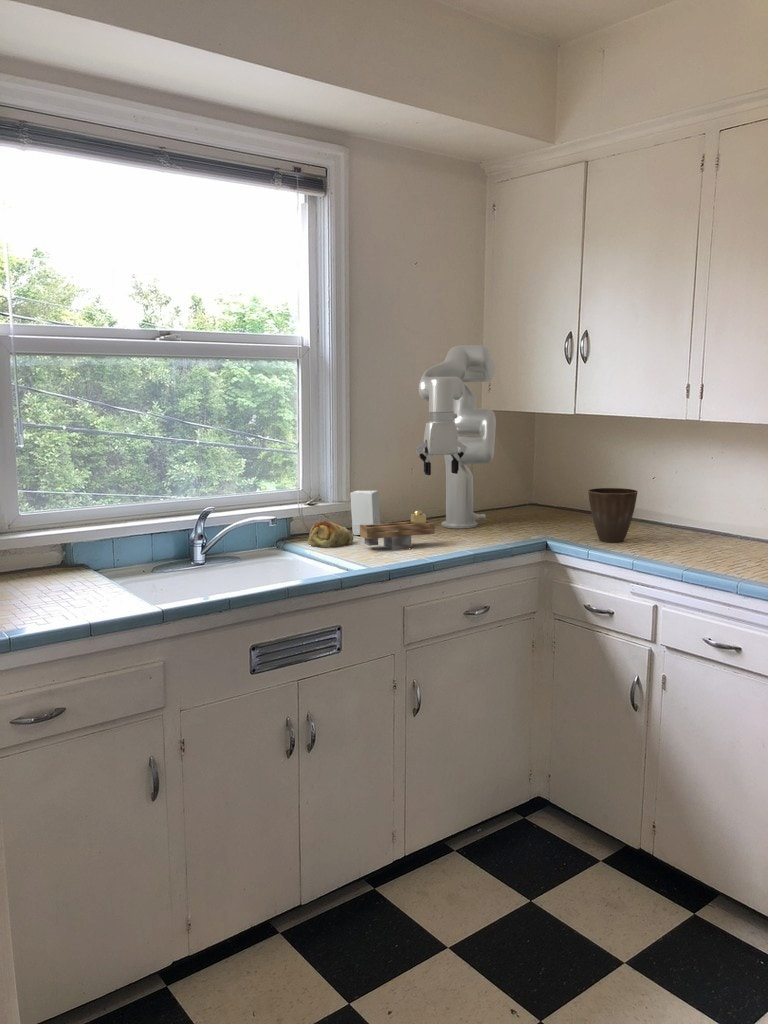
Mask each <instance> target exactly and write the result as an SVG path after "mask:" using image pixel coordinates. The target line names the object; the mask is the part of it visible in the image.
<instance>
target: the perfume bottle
mask: <svg viewBox="0 0 768 1024" xmlns="http://www.w3.org/2000/svg"><path fill="white" fill-rule="evenodd" d="M426 520H427V514H426V513H423V510H414V513H410V522H411V524H420V523H426Z"/></svg>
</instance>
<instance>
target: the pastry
mask: <svg viewBox="0 0 768 1024" xmlns="http://www.w3.org/2000/svg"><path fill="white" fill-rule="evenodd" d="M353 543H354V537H353V534H352V532H351V530H349V529H347V527H345V526H342V525H339V524H337V523H335V522H332V521H327V520H324V521H320V522H316V523H314V524H313V526H311V528H310V531H309V534H308V541H307V544H309V545H311V546H314V547H315V546H316V547H317V548H323V547H325V548H327V549H328V548H329V547H330V548H331V547H332V548H338V547H344V545H345V546H352V545H353ZM351 544H352V545H351ZM311 546H310V547H311Z"/></svg>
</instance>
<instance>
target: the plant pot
mask: <svg viewBox="0 0 768 1024" xmlns="http://www.w3.org/2000/svg"><path fill="white" fill-rule="evenodd" d="M587 491H588V501H589V507H590V512H591V517H592V521H593V525H594V528H595V531H596V534H597V537H598V539H599V541H600V542H604V543H609V544H610V543H612V544H614V543H617V544H618V543H623V542H624V541H625V539H626V537H627V534H628V531H629V529H630V525H631V522H632V519H633V516H634V511H635V507H636V504H637V502H636V501H637V497H638V492H639V491H638V490H636V489H631V488H617V487H606V488H605V487H600V488H591V489H590V488H589V489H588V490H587Z"/></svg>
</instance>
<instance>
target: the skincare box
mask: <svg viewBox="0 0 768 1024" xmlns="http://www.w3.org/2000/svg"><path fill="white" fill-rule="evenodd" d="M349 497H350V511H351V527H352V529H351V530H352V535H353V534H354V535H360V525H372V524H381V516H380V513H381V512H380V498H379V497H380V495H379V490H374V489H373V490H354V491H352V492H350V496H349Z"/></svg>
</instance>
